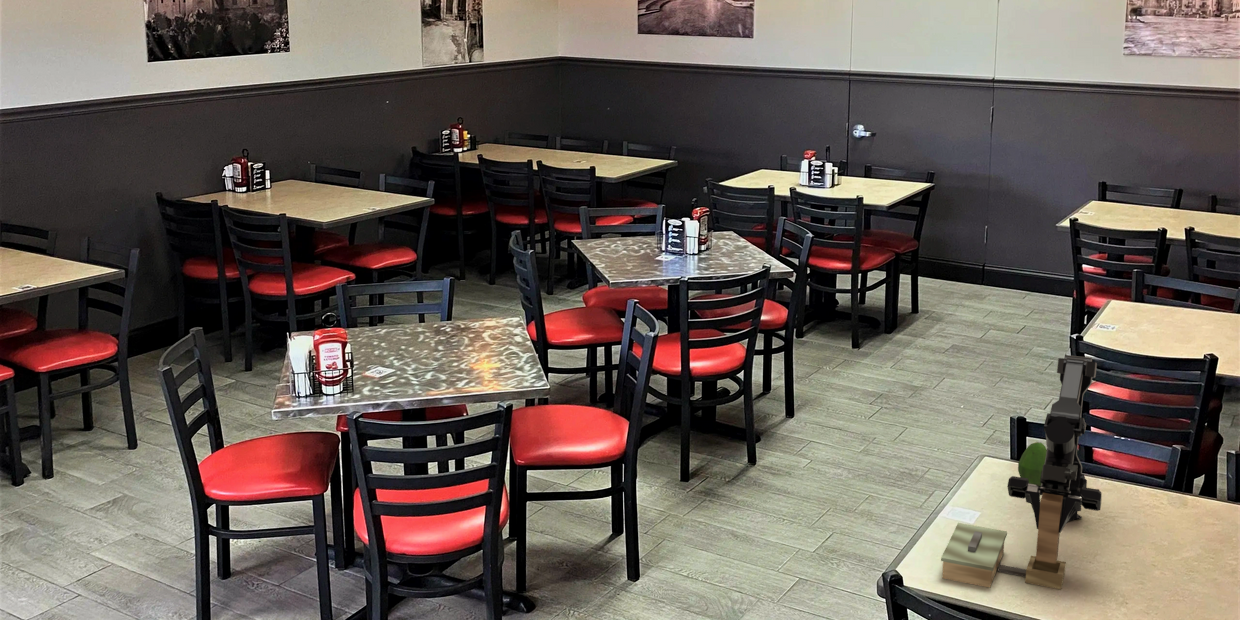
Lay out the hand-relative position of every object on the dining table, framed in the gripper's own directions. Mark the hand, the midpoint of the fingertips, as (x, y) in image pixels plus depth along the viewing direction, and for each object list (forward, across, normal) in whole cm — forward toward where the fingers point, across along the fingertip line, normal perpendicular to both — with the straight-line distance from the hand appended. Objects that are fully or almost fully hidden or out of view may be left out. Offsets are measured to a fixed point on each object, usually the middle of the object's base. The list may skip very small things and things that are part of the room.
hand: (1048, 530), depth 241 cm
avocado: (-27, -9, +44) cm, 53 cm away
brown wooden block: (+4, 0, +6) cm, 7 cm away
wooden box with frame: (+7, -8, +9) cm, 15 cm away
